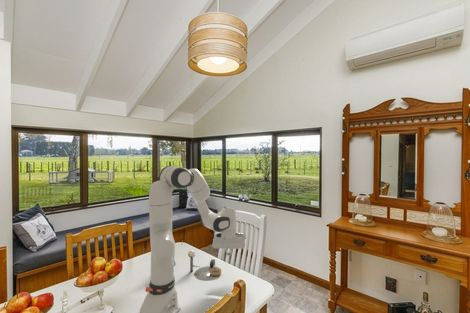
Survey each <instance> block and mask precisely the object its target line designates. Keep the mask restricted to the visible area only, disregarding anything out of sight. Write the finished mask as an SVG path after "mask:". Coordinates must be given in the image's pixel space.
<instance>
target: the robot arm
mask: <svg viewBox="0 0 470 313" xmlns="http://www.w3.org/2000/svg"><path fill="white" fill-rule="evenodd" d="M174 189H180V190H181V189H186V190H187V192H188V194H189V195H190V197H191V198H192V200H193V203H194V205H195V207H196V210H197V211H198V214H199V218H200V224H201V225H202V226H203V227H205V228H206V229H209V230H212V231H214V236H213V241H212V245H211V247H212V248H213V249H224V251H225V254H226V256H232V253H233V250H234V249H238V250H240V249H245V248H246V241H245V240H246V239H247V238H246V237H247V236H246V234H245V233H243V232H237V231H236V230H237V227H236V222H237V216H236V210H235V208H233V207H231V206H224V207H222V209H221V210H220V211H219V212H217V213H216V212H213V211H212V210H210V208H209V206H208V204H207V201H206V200H207V199H208V198H209V197H210V195H211V189H210V186H209V184H208V182H207V181H206V179H205V177H204V176H203V174H202V173H201V171H199V170H198V169H197V168H189V169H188V168H186V167H184V166H183V167H181V166H177V165H166V166H164V167H163V168H162V169H161V170H160V173H159V175H158V177H157V181H154V182H152V183H151V184H150V187H149V194H148V195H149V196H148V214H149V242H150V280H149V283H148V286H146V287H145V289H144V290H145V292H146V295H145V298H144V300H143V302H142V304H141V306H140V309H139V313H178V312H179V311H180V310H181V307H180V304H179V301H178V292H177V289H176V287H175V283H176V279H175V273H174V272H175V269H174V267H175V266H174V261H175V252H176V241H175V239H174V235H173V219H174V217H173V216H174V215H173V196H172V195H173V191H174ZM228 249H230V251H228Z"/></svg>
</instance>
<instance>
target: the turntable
mask: <svg viewBox="0 0 470 313" xmlns="http://www.w3.org/2000/svg"><path fill="white" fill-rule="evenodd" d="M215 266H216V259H215V258H214V259H212V258H211V260H210V261H209V266H203V267H198V268H197V270H195V271H194V274H193V276H194V277H195V278H196V279H197V280H199V281H202V282H209V281H214V280H217V279H218V278H220V277H221V275H220V276H218V277H212V276H210V269H211V268H213V267H215Z"/></svg>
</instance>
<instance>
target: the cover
mask: <svg viewBox="0 0 470 313" xmlns="http://www.w3.org/2000/svg"><path fill="white" fill-rule="evenodd" d="M221 275H222V269H221V267H218V266H214V267H213V268H211V269H210V276H212V277H218V276H220V277H221ZM218 278H219V277H218Z"/></svg>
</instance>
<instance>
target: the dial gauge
mask: <svg viewBox="0 0 470 313" xmlns="http://www.w3.org/2000/svg"><path fill="white" fill-rule="evenodd" d="M187 256H188V257H189V258H190V261H189V262H190V264H189V266H190V268H189V270H190V273H193V271H194V268H201V265H195V264H194V258H195V256H196V252H195V251H194V250H189V251H188V253H187Z"/></svg>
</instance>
